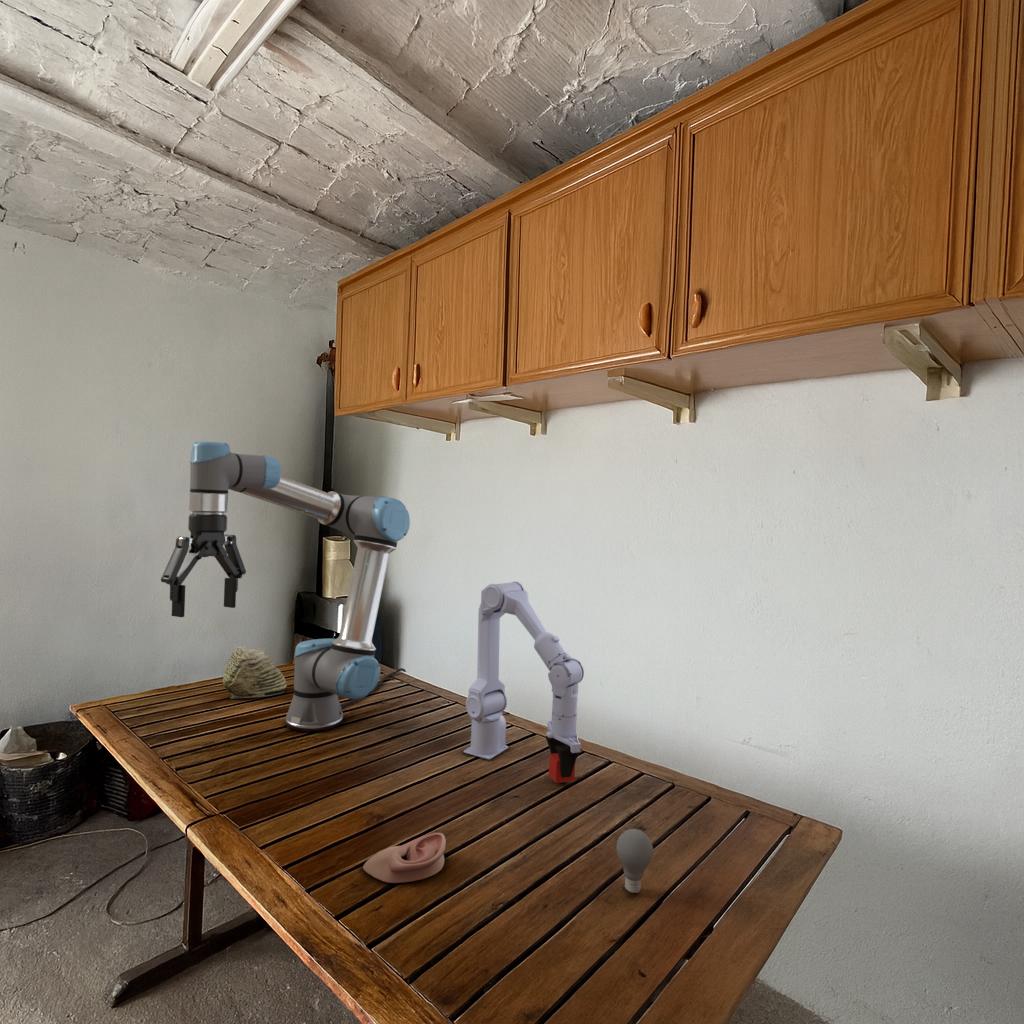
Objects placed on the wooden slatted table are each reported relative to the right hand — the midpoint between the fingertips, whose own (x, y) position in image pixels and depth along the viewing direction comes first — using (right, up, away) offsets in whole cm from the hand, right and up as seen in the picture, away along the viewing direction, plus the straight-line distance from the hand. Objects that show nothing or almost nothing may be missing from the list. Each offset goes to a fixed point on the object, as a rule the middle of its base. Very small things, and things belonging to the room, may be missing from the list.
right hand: (561, 771), depth 145 cm
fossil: (-92, +2, +53) cm, 106 cm away
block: (0, -1, 0) cm, 1 cm away
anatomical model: (-30, -2, -35) cm, 46 cm away
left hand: (-78, +38, -8) cm, 87 cm away
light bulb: (+9, -4, -40) cm, 41 cm away
